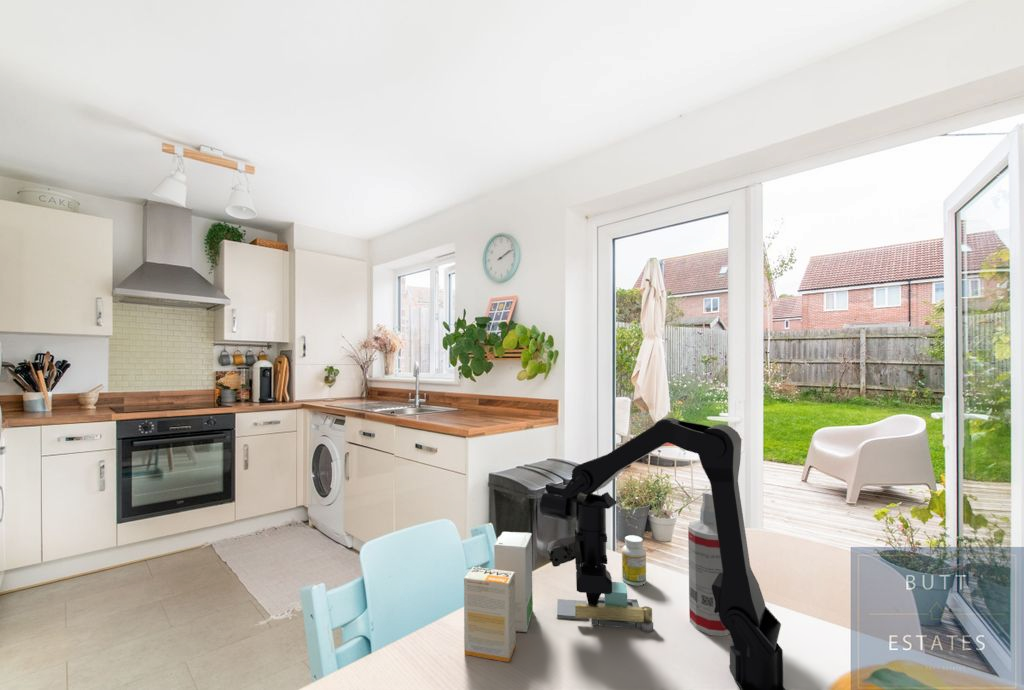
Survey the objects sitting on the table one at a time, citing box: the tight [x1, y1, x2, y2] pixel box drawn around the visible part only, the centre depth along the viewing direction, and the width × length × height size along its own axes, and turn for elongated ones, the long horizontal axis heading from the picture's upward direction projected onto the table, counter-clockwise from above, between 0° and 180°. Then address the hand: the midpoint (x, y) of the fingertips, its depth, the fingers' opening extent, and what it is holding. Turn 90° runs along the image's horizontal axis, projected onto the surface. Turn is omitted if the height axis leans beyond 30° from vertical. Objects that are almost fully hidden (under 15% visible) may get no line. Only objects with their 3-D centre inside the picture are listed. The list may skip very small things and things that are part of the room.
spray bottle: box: [687, 491, 730, 637], centre depth 87 cm, size 8×8×25 cm
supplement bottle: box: [621, 534, 647, 587], centre depth 104 cm, size 5×5×10 cm
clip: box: [575, 603, 653, 624], centre depth 86 cm, size 14×2×2 cm, turn 84°
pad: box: [556, 598, 589, 621], centre depth 91 cm, size 6×6×1 cm
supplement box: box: [463, 566, 517, 663], centre depth 78 cm, size 8×5×13 cm, turn 74°
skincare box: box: [493, 531, 534, 633], centre depth 88 cm, size 8×7×16 cm
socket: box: [590, 596, 654, 633], centre depth 89 cm, size 12×9×1 cm
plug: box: [598, 581, 636, 629], centre depth 89 cm, size 7×7×6 cm
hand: (591, 607), depth 87 cm, fingers closed
